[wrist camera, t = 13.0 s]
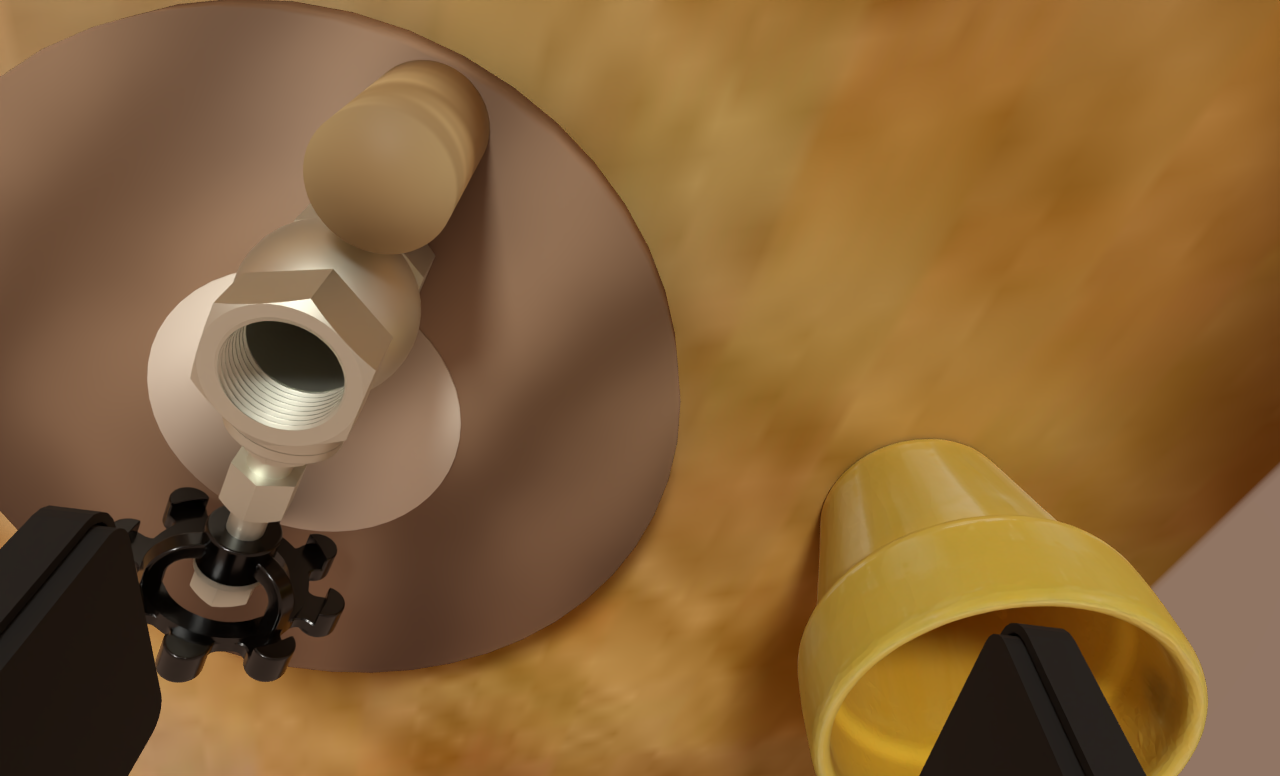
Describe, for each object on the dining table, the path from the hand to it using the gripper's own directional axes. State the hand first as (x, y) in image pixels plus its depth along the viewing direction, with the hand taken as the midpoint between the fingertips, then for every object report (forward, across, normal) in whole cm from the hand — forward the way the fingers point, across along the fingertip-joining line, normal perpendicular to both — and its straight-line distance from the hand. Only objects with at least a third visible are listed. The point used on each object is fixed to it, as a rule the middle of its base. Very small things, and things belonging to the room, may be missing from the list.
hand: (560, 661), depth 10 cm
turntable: (+17, +8, +8) cm, 20 cm away
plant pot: (+18, -12, +11) cm, 24 cm away
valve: (+15, +8, +6) cm, 18 cm away
